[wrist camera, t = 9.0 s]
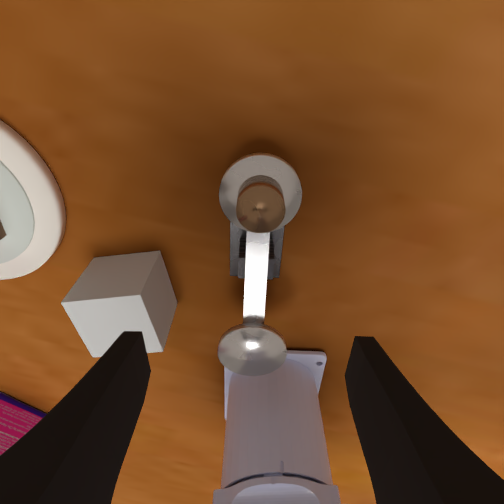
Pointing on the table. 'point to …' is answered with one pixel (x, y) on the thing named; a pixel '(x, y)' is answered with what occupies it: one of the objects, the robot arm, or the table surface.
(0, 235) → the walnut block
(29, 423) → the supplement box
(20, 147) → the dish
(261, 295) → the balance
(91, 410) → the robot arm
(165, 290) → the grey block
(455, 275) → the table surface
